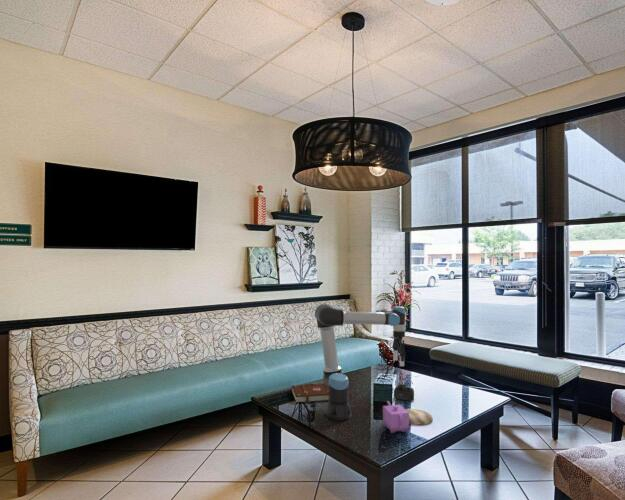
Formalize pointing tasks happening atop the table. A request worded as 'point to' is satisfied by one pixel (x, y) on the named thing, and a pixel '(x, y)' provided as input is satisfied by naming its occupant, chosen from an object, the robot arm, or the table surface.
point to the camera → (404, 392)
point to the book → (310, 393)
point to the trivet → (419, 417)
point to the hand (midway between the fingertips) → (398, 363)
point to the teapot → (395, 418)
